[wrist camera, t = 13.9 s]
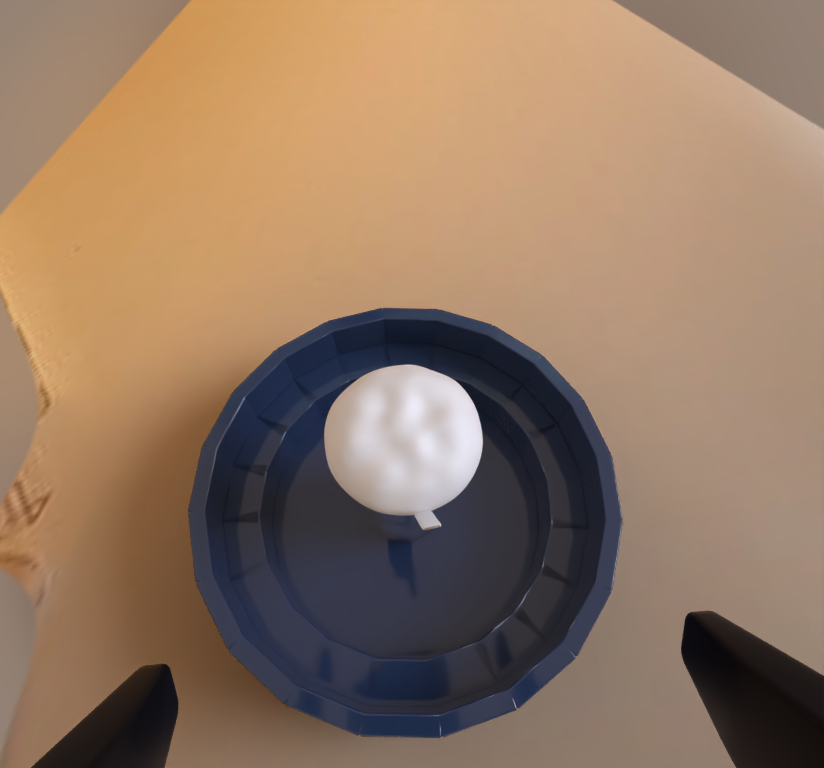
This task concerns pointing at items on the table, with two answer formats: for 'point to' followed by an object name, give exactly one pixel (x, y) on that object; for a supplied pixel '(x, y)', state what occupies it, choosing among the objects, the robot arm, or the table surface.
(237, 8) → the table surface
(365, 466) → the milkshake
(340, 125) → the table surface
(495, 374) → the bowl
